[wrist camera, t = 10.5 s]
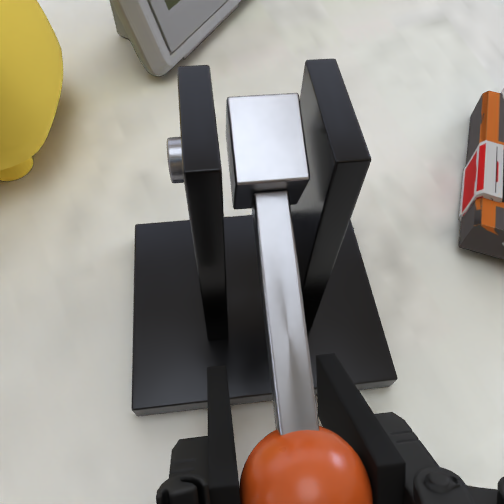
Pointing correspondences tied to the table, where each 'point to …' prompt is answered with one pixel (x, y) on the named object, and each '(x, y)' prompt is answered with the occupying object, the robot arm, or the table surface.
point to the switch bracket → (252, 261)
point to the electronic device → (484, 179)
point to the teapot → (26, 84)
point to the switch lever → (285, 313)
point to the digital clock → (168, 27)
